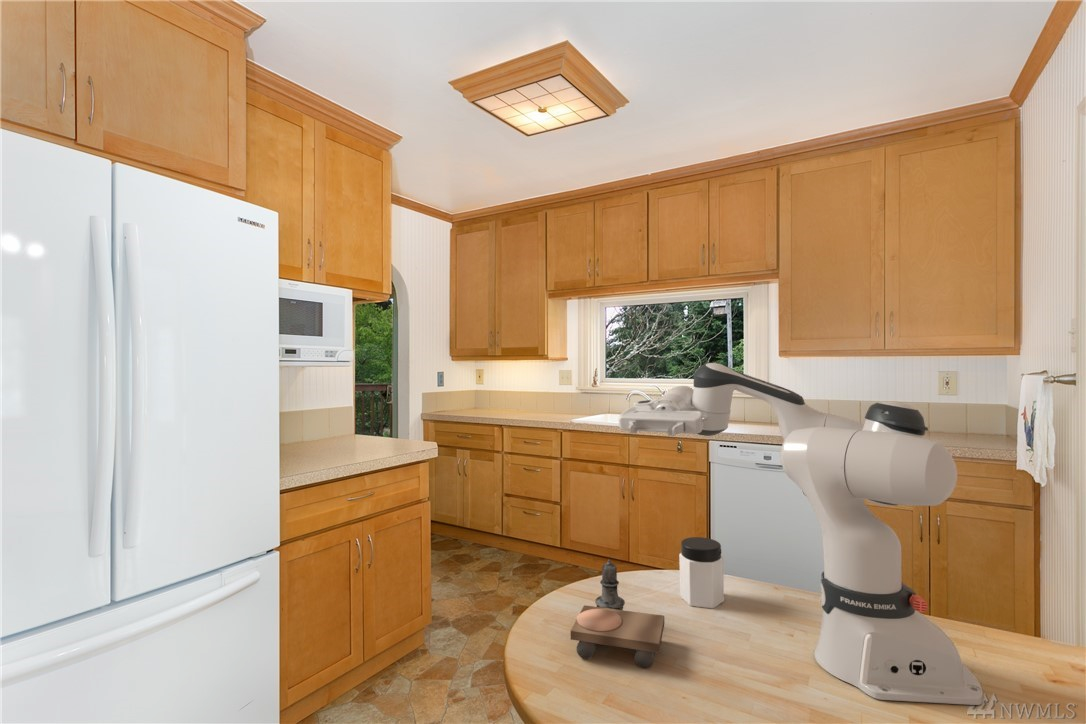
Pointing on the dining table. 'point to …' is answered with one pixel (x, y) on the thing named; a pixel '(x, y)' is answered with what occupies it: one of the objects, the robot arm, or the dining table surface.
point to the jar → (701, 572)
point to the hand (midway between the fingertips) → (650, 431)
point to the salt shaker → (609, 588)
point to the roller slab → (618, 632)
